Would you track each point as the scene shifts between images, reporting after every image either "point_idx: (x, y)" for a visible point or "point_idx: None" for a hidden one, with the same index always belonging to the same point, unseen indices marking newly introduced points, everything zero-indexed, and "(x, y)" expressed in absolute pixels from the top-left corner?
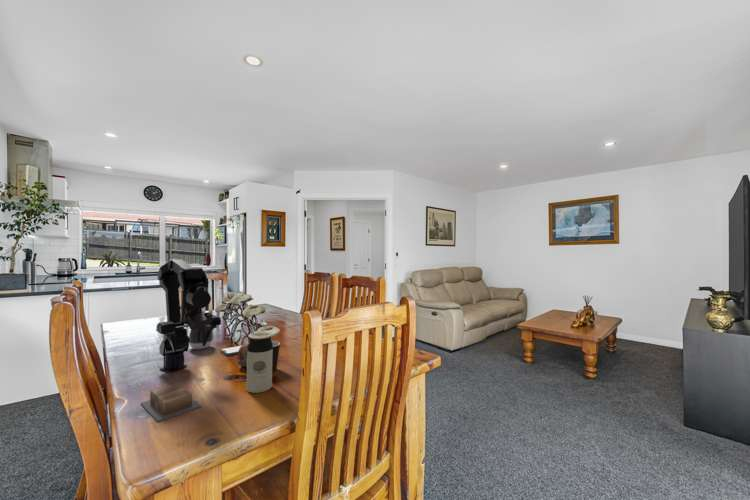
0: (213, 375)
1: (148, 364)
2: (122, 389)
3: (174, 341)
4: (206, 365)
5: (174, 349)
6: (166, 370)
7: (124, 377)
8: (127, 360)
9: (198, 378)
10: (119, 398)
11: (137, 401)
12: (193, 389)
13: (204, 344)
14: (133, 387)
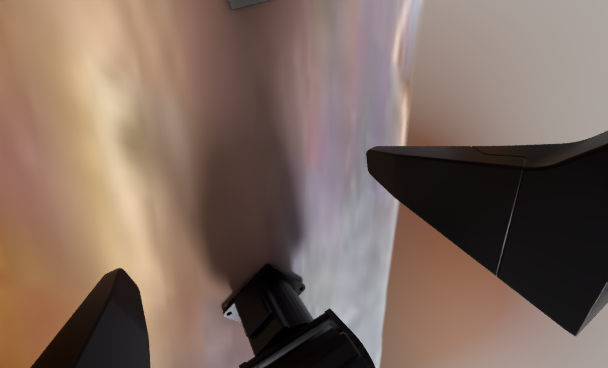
0: (69, 181)
1: None
2: None
3: (477, 157)
4: None
5: (393, 147)
6: (287, 275)
7: (375, 247)
8: None
9: (159, 165)
10: (404, 87)
11: (375, 18)
12: (171, 6)
13: (109, 278)
14: None
